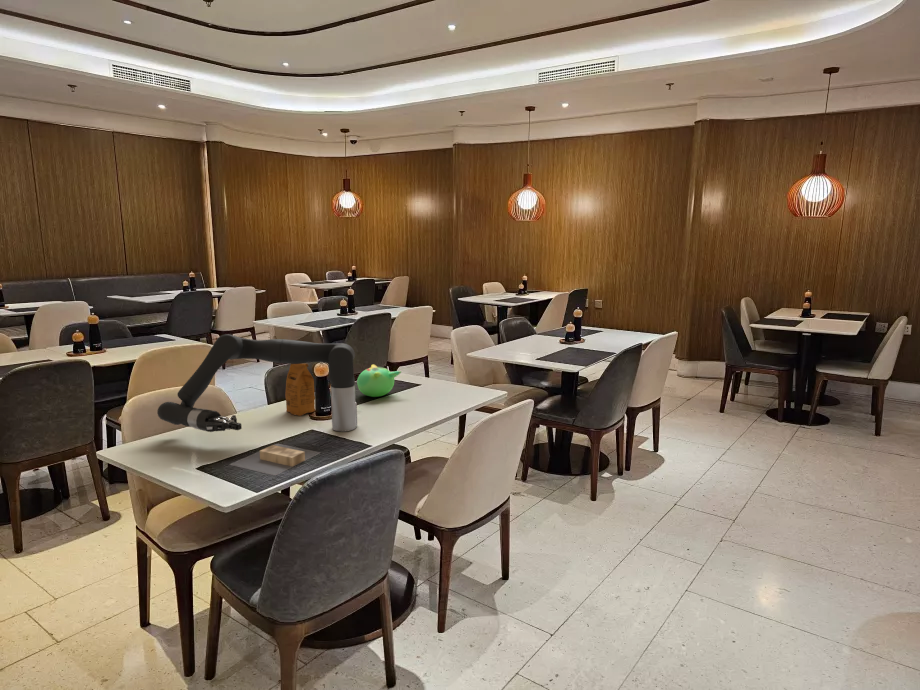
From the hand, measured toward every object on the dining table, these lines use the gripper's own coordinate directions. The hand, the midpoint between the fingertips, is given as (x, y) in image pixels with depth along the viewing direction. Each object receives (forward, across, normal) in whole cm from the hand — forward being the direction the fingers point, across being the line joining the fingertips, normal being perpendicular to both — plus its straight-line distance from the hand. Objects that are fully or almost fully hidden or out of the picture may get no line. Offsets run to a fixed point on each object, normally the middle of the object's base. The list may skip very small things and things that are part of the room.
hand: (239, 426), depth 198 cm
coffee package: (-14, +46, +9) cm, 49 cm away
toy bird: (+1, +82, +9) cm, 83 cm away
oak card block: (+12, 0, +7) cm, 14 cm away
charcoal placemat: (+16, 0, +9) cm, 18 cm away
